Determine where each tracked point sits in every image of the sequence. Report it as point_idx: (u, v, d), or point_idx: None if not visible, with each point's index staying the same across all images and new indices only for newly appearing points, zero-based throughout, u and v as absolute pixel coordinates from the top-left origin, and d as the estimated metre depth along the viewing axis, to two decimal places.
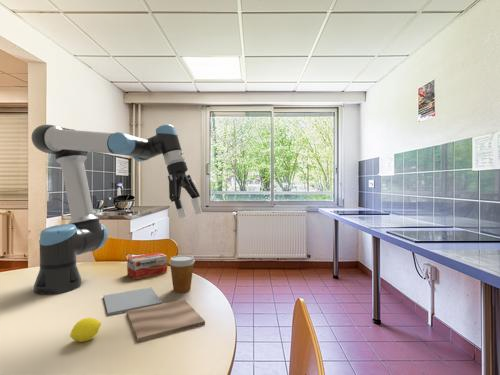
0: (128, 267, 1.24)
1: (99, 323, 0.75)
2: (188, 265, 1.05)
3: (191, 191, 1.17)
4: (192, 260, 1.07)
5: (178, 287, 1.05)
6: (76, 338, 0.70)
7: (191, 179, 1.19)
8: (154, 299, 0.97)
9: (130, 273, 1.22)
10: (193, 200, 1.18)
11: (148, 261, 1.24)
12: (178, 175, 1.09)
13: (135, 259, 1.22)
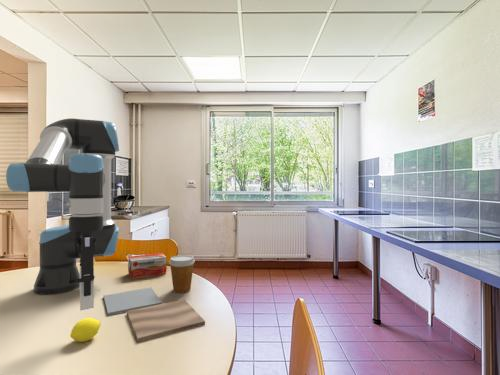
0: (128, 266, 1.26)
1: (99, 323, 0.75)
2: (188, 265, 1.05)
3: None
4: (192, 260, 1.07)
5: (178, 287, 1.05)
6: (76, 338, 0.70)
7: (81, 247, 0.66)
8: (154, 299, 0.97)
9: (129, 273, 1.23)
10: None
11: (146, 261, 1.23)
12: None
13: (133, 259, 1.23)
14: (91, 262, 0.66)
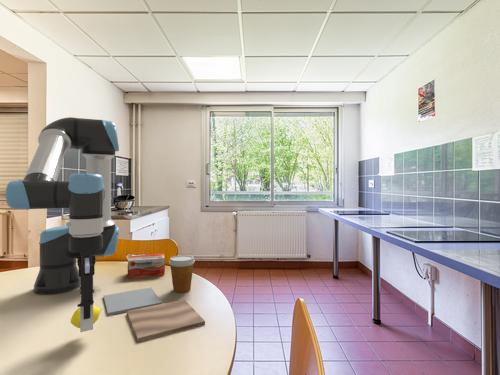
0: None
1: (99, 310, 0.75)
2: (188, 265, 1.05)
3: None
4: (192, 260, 1.07)
5: (178, 287, 1.05)
6: (76, 324, 0.71)
7: (81, 274, 0.67)
8: (154, 299, 0.97)
9: None
10: None
11: (144, 261, 1.23)
12: None
13: (132, 258, 1.24)
14: (91, 289, 0.68)
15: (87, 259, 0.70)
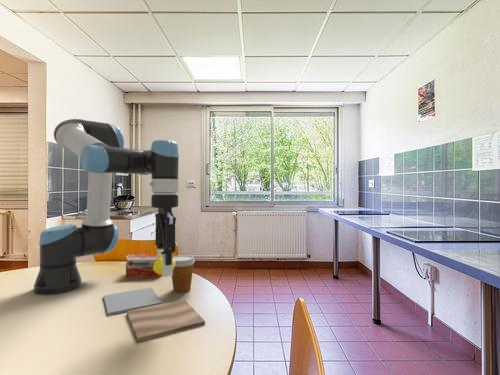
0: None
1: (174, 261, 0.86)
2: (188, 265, 1.05)
3: None
4: (192, 260, 1.07)
5: (178, 287, 1.05)
6: (158, 270, 0.81)
7: (166, 225, 0.78)
8: (154, 299, 0.97)
9: None
10: None
11: (141, 261, 1.23)
12: (158, 211, 0.86)
13: (131, 258, 1.24)
14: (173, 238, 0.79)
15: (169, 213, 0.81)
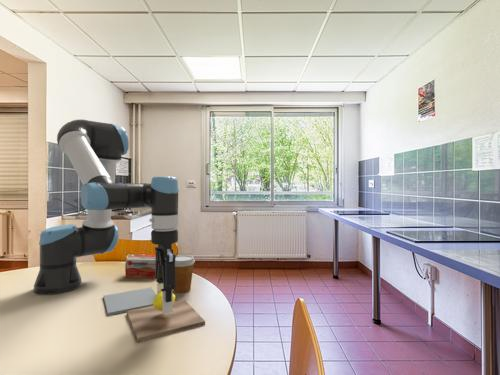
0: None
1: (174, 295, 0.86)
2: (188, 265, 1.05)
3: None
4: (192, 260, 1.07)
5: (178, 287, 1.05)
6: (158, 307, 0.81)
7: (166, 263, 0.78)
8: None
9: None
10: None
11: (140, 261, 1.23)
12: (158, 245, 0.86)
13: (131, 257, 1.25)
14: (173, 275, 0.79)
15: (168, 250, 0.81)
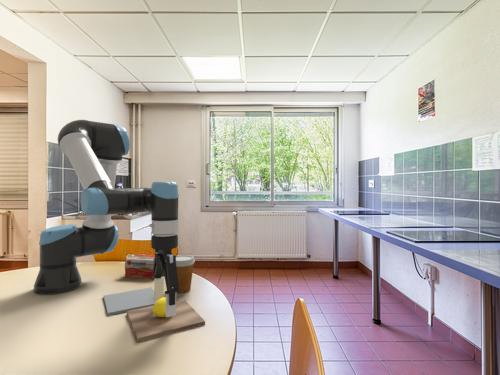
0: None
1: None
2: (188, 265, 1.05)
3: None
4: (192, 260, 1.07)
5: None
6: (158, 314, 0.81)
7: (167, 263, 0.77)
8: None
9: None
10: None
11: (138, 261, 1.23)
12: (158, 251, 0.86)
13: (131, 257, 1.26)
14: (176, 276, 0.77)
15: (168, 254, 0.81)
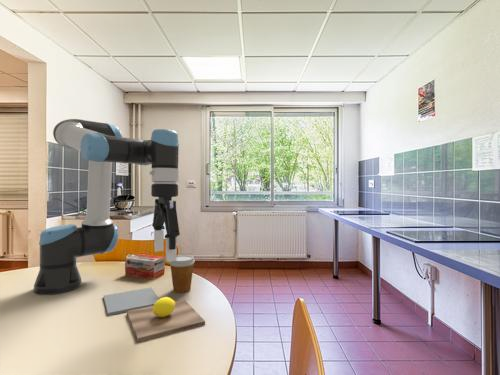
0: None
1: (174, 302, 0.86)
2: (188, 265, 1.05)
3: None
4: (192, 260, 1.07)
5: (178, 287, 1.05)
6: (158, 313, 0.81)
7: (167, 208, 0.77)
8: (154, 299, 0.97)
9: None
10: None
11: (137, 261, 1.23)
12: (158, 201, 0.86)
13: (131, 257, 1.26)
14: (176, 221, 0.77)
15: None
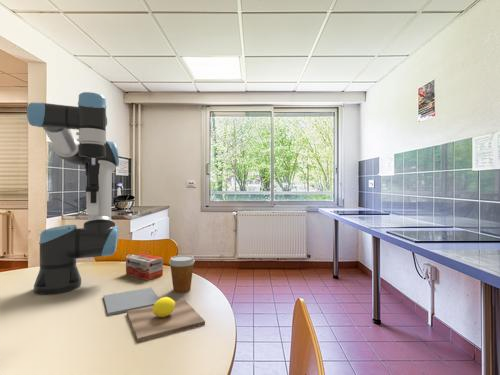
0: None
1: (174, 302, 0.86)
2: (188, 265, 1.05)
3: None
4: (192, 260, 1.07)
5: (178, 287, 1.05)
6: (158, 313, 0.81)
7: (88, 164, 0.83)
8: (154, 299, 0.97)
9: None
10: None
11: (135, 261, 1.23)
12: None
13: (132, 256, 1.28)
14: (96, 176, 0.82)
15: None
